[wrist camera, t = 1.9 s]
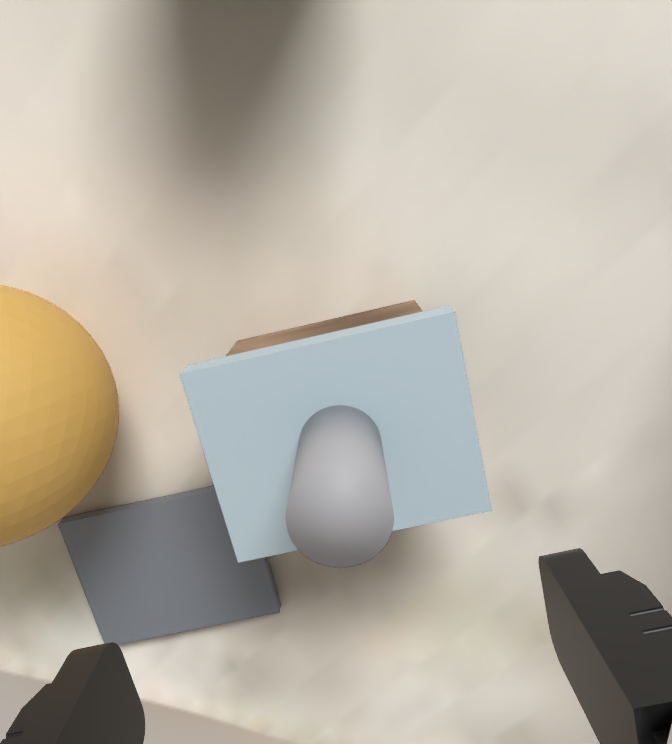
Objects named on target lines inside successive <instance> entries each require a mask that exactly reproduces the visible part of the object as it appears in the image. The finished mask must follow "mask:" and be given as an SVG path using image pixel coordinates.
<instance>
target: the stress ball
mask: <svg viewBox="0 0 672 744" xmlns="http://www.w3.org/2000/svg"><path fill="white" fill-rule="evenodd" d="M118 421H119V404H118V394H117V389H116V385H115V381H114V377H113V374H112V371H111V368H110V366H109V364H108V362H107V360H106V358H105V356H104V354H103V352H102V350H101V349H100V347H99V346H98V345H97V343H96V342H95V341H94V339H93V338H92V336H91V335H90V334H89V333H88V332H87V331H86V330H85V329H84V328H83V326H82V325H81V324H79V323H78V322H77V321H76V320H75V319H74V318H72V317H71V316H70V315H69V314H68V313H66V312H65V311H63V310H62V309H60V308H59V307H57V306H56V305H54V304H52V303H51V302H49V301H47V300H45V299H43V298H40V297H38V296H36V295H34V294H31V293H29V292H26V291H23V290H19V289H16V288H13V287H8V286H4V285H0V546H3V545H7V544H11V543H14V542H17V541H19V540H22V539H25V538H27V537H29V536H32V535H34V534H36V533H38V532H40V531H42V530H44V529H46V528H47V527H49V526H50V525H52V524H53V523H55V522H56V521H58V520H59V519H61V518H62V517H64V516H65V515H66V514H67V513H68V512H70V511H71V510H72V509H73V508H74V507H75V506H76V505H77V504H78V503H80V502H81V501H82V500H83V498H84V497H85V496H86V495H87V494H88V492H89V491H90V490H91V489H92V487H93V486H94V485H95V484H96V482H97V480H98V479H99V477H100V476H101V474H102V472H103V470H104V469H105V467H106V465H107V462H108V460H109V458H110V456H111V453H112V450H113V446H114V443H115V440H116V436H117V429H118Z"/></svg>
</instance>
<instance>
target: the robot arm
mask: <svg viewBox="0 0 672 744" xmlns="http://www.w3.org/2000/svg"><path fill="white" fill-rule="evenodd" d="M539 569H540V575H541V581H542V587H543V593H544V599H545V606H546V612H547V618H548V624H549V629H550V634H551V638H552V641H553V645H554V648H555V651H556V654H557V657H558V659H559V662H560V664H561V666H562V668H563V670H564V672H565V674H566V676H567V678H568V680H569V682H570V684H571V686H572V688H573V690H574V692H575V694H576V696H577V698H578V700H579V702H580V704H581V706H582V708H583V710H584V712H585V714H586V716H587V718H588V720H589V722H590V724H591V726H592V729H593V731H594V733H595V735H596V737H597V739H598V741H599V743H600V744H672V617H671V615H670V614H669V613H668V612H667V611H665V610H664V608H663V606H662V605H661V603H660V602H659V601H658V600H657V598H656V597H655V596H654V595H653V594H652V592H651V591H650V590H649V589H648V588H647V586H646V585H644V584H642V583H640V582H639V581H637V580H635V579H634V578H632V577H630V576H628V575H627V574H625V573H623V572H621V571H620V570H619V571H614V572H609V573H604V574H600V573H599V572H598V570H597V569H596V567H595V566H594V565H593V563H592V562H591V560H590V559H589V558H588V556H587V555H586V554H585V552H584V551H583V550H582V549H580V548H578V549H573V550H568V551H564V552H559V553H554V554H549V555H544V556H540V557H539ZM144 735H145V717H144V711H143V707H142V704H141V701H140V698H139V696H138V693H137V691H136V688H135V685H134V683H133V680H132V677H131V675H130V672H129V669H128V667H127V664H126V661H125V659H124V656H123V653H122V651H121V649H120V647H119V646H118V645H117V644H116V643H114V642H111V643H106V644H101V645H96V646H91V647H86V648H82V649H77V650H73V651H72V652H71V653H70V654H69V655H68V657H67V658H66V660H65V662H64V664H63V665H62V667H61V669H60V670H59V672H58V674H57V675H56V677H55V679H54V680H53V682H52V683H51V684H46V685H45V686H44V687H43V688H42V689H41V690H40V691H39V692H38V693H37V694H36V695H35V696H34V697H33V698H32V699H31V700H30V701H29V702H28V703H27V704H26V705H25V706H24V707H23V708H22V709H21V711H20V712H19V714H18V716H17V717H16V719H15V720H14V722H13V724H12V725H11V727H10V728H9V730H8V732H7V733H6V739H3V740H2V741H1V743H0V744H143V741H144Z"/></svg>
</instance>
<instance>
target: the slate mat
mask: <svg viewBox="0 0 672 744" xmlns="http://www.w3.org/2000/svg"><path fill="white" fill-rule="evenodd" d="M58 525H59V528H60V530H61V533H62V536H63V538H64V541H65V543H66V546H67V548H68V551H69V554H70V556H71V559H72V561H73V564H74V566H75V569H76V572H77V574H78V577H79V579H80V582H81V584H82V587H83V590H84V592H85V595H86V597H87V600H88V602H89V605H90V608H91V610H92V613H93V615H94V618H95V620H96V623H97V626H98V628H99V631H100V633H101V636H102V638H103V641H104V644H106V643H111V642H114V643H116V644H117V645H118V644H123V643H128V642H133V641H138V640H143V639H148V638H153V637H158V636H163V635H168V634H173V633H178V632H183V631H188V630H193V629H199V628H204V627H209V626H214V625H219V624H224V623H229V622H234V621H239V620H244V619H249V618H254V617H259V616H264V615H269V614H274V613H279V612H280V607H281V604H280V600H279V597H278V594H277V590H276V587H275V583H274V580H273V577H272V573H271V570H270V567H269V563H268V560H267V557H263V558H258V559H254V560H249V561H244V562H239V563H238V561H237V558H236V555H235V551H234V548H233V545H232V542H231V538H230V535H229V532H228V529H227V526H226V522H225V519H224V516H223V513H222V510H221V506H220V503H219V500H218V497H217V493H216V490H215V487H214V486H210V487H206V488H201V489H196V490H192V491H187V492H182V493H178V494H173V495H168V496H164V497H159V498H154V499H150V500H145V501H140V502H136V503H131V504H126V505H122V506H117V507H112V508H108V509H103V510H98V511H94V512H89V513H84V514H80V515H75V516H70V517H66V518H63V519H62V520H61V521H60V522H59V524H58Z"/></svg>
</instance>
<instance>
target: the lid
mask: <svg viewBox="0 0 672 744" xmlns="http://www.w3.org/2000/svg"><path fill="white" fill-rule="evenodd" d="M180 378H181V381H182V384H183V387H184V391H185V394H186V397H187V400H188V403H189V407H190V410H191V413H192V416H193V419H194V423H195V426H196V429H197V432H198V436H199V439H200V442H201V445H202V448H203V452H204V455H205V458H206V461H207V465H208V468H209V471H210V474H211V477H212V481H213V484H214V487H215V490H216V493H217V497H218V500H219V503H220V506H221V510H222V513H223V516H224V519H225V522H226V526H227V529H228V532H229V535H230V538H231V542H232V545H233V548H234V551H235V555H236V558H237V561H238V563H239V562H244V561H249V560H254V559H258V558H263V557H268V556H273V555H278V554H283V553H288V552H293V551H297V550H299V551H300V552H301V553H302V554H303V555H304V556H306V557H307V558H309V559H310V560H312V561H314V562H316V563H318V564H321V565H324V566H329V567H337V568H343V567H352V566H356V565H359V564H362V563H364V562H366V561H368V560H370V559H371V558H373V557H374V556H376V555H377V554H378V553H379V552H380V551H381V550H382V549H383V548H384V546H385V545H386V544H387V542H388V540H389V538H390V536H391V534H392V531H395V530H400V529H405V528H410V527H415V526H419V525H424V524H429V523H434V522H439V521H444V520H449V519H454V518H458V517H463V516H468V515H473V514H478V513H483V512H488V511H492V508H491V503H490V498H489V492H488V487H487V482H486V476H485V471H484V465H483V460H482V455H481V449H480V444H479V439H478V433H477V428H476V422H475V417H474V412H473V406H472V401H471V396H470V390H469V385H468V379H467V374H466V369H465V363H464V358H463V353H462V347H461V342H460V336H459V331H458V326H457V320H456V315H455V311H454V310H453V309H452V308H451V307H450V306H445V307H440V308H436V309H431V310H427V311H423V312H418V313H414V314H410V315H405V316H401V317H396V318H392V319H388V320H383V321H379V322H375V323H370V324H366V325H361V326H357V327H353V328H348V329H344V330H340V331H335V332H331V333H326V334H322V335H318V336H313V337H309V338H305V339H300V340H296V341H291V342H287V343H283V344H278V345H274V346H270V347H265V348H261V349H256V350H252V351H248V352H243V353H239V354H235V355H230V356H226V357H221V358H217V359H213V360H208V361H204V362H200V363H195V364H191V365H188V366H187V367H186V368H185V369H184V370H183V371H182V372H181V373H180Z"/></svg>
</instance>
